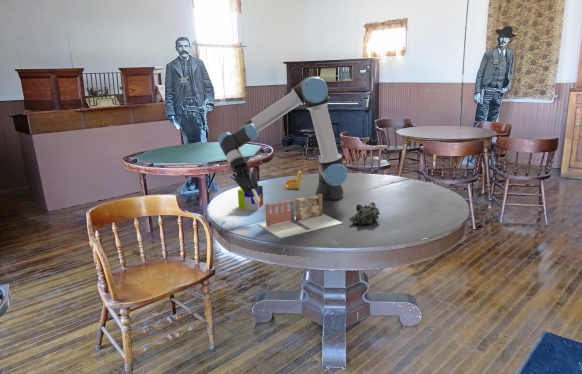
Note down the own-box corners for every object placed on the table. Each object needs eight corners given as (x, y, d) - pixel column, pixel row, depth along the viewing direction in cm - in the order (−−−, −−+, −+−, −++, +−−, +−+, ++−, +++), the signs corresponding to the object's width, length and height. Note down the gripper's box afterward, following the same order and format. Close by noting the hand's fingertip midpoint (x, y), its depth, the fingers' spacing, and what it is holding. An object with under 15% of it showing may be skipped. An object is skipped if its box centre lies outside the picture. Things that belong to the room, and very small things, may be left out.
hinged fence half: (293, 218, 203) (292, 198, 200) (295, 220, 201) (295, 199, 199) (265, 224, 196) (264, 204, 194) (267, 226, 194) (266, 205, 192)
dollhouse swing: (284, 185, 267) (284, 170, 265) (300, 184, 268) (299, 169, 266) (286, 189, 257) (285, 174, 255) (302, 188, 258) (302, 173, 256)
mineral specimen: (348, 205, 207) (359, 190, 201) (372, 217, 208) (384, 202, 202) (345, 225, 195) (357, 210, 189) (371, 238, 196) (383, 223, 190)
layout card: (318, 212, 214) (318, 211, 214) (342, 223, 197) (342, 222, 197) (258, 224, 199) (258, 223, 199) (279, 238, 182) (279, 237, 182)
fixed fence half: (320, 213, 210) (320, 193, 208) (323, 215, 209) (323, 194, 206) (294, 219, 203) (294, 198, 201) (297, 220, 202) (296, 199, 199)
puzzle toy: (258, 210, 220) (257, 190, 218) (238, 209, 222) (237, 190, 220) (263, 204, 230) (262, 185, 227) (244, 203, 232) (243, 185, 229)
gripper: (245, 163, 218) (266, 203, 210) (222, 167, 210) (243, 209, 202) (251, 154, 212) (272, 195, 204) (227, 158, 205) (249, 200, 196)
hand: (258, 202), depth 203 cm, fingers closed
